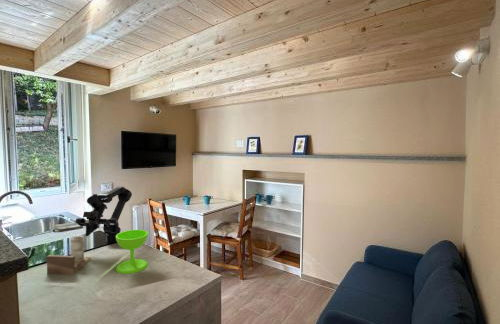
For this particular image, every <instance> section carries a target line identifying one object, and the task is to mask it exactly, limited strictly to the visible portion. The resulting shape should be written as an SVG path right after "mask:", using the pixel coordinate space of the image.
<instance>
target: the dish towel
mask: <svg viewBox="0 0 500 324" xmlns="http://www.w3.org/2000/svg"><path fill="white" fill-rule="evenodd" d="M83 227H84V226H79V225H78V224H77V223H76V222H75V221H74V222H67V223H60V224H53V225H51V229H52V230H53V232H54V233H60V232H66V231H71V230H73V231H74V230H78V229H84V228H83Z"/></svg>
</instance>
